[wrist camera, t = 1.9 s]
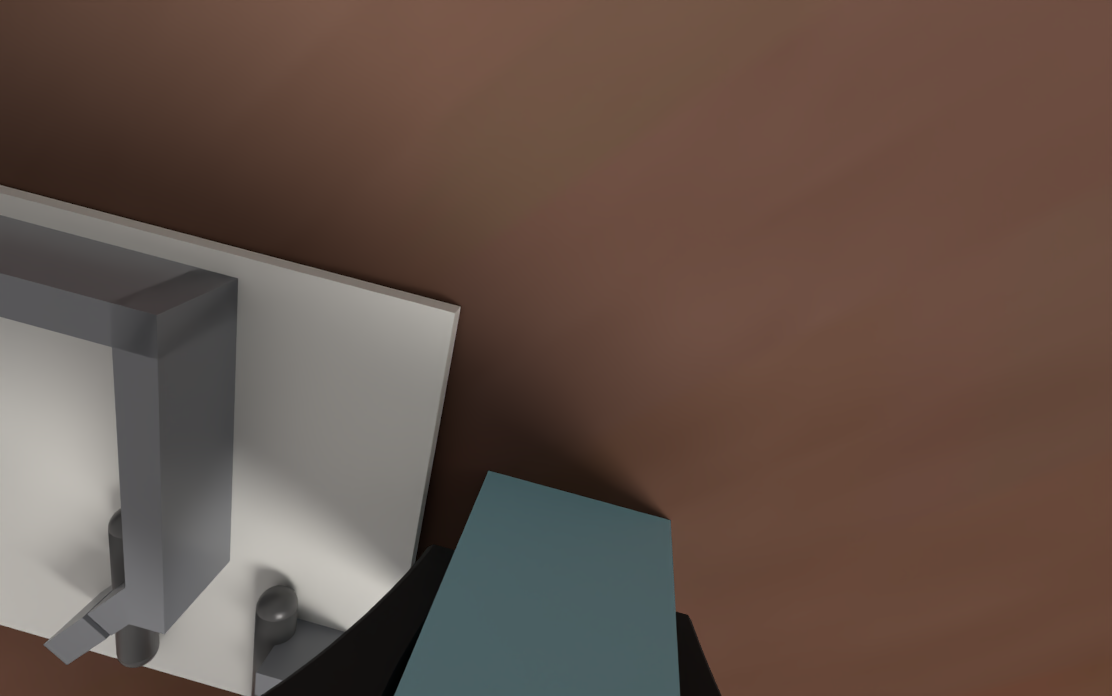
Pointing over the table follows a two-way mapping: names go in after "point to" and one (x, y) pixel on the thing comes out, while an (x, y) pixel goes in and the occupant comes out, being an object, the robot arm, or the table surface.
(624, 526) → the pale blue cube
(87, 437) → the board
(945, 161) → the table surface
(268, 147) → the table surface
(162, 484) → the end holder
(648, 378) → the table surface
